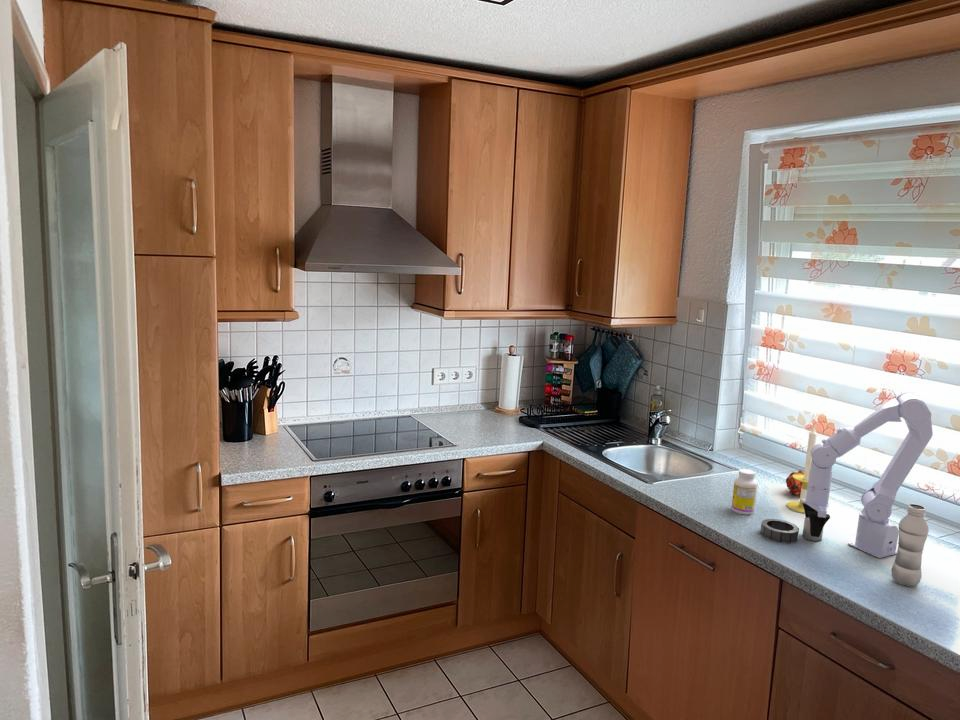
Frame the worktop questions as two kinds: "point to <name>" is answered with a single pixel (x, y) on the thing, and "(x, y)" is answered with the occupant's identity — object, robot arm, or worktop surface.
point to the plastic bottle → (910, 547)
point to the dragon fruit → (794, 484)
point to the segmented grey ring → (779, 530)
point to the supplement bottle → (744, 492)
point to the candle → (804, 475)
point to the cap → (807, 531)
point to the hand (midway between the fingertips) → (812, 532)
